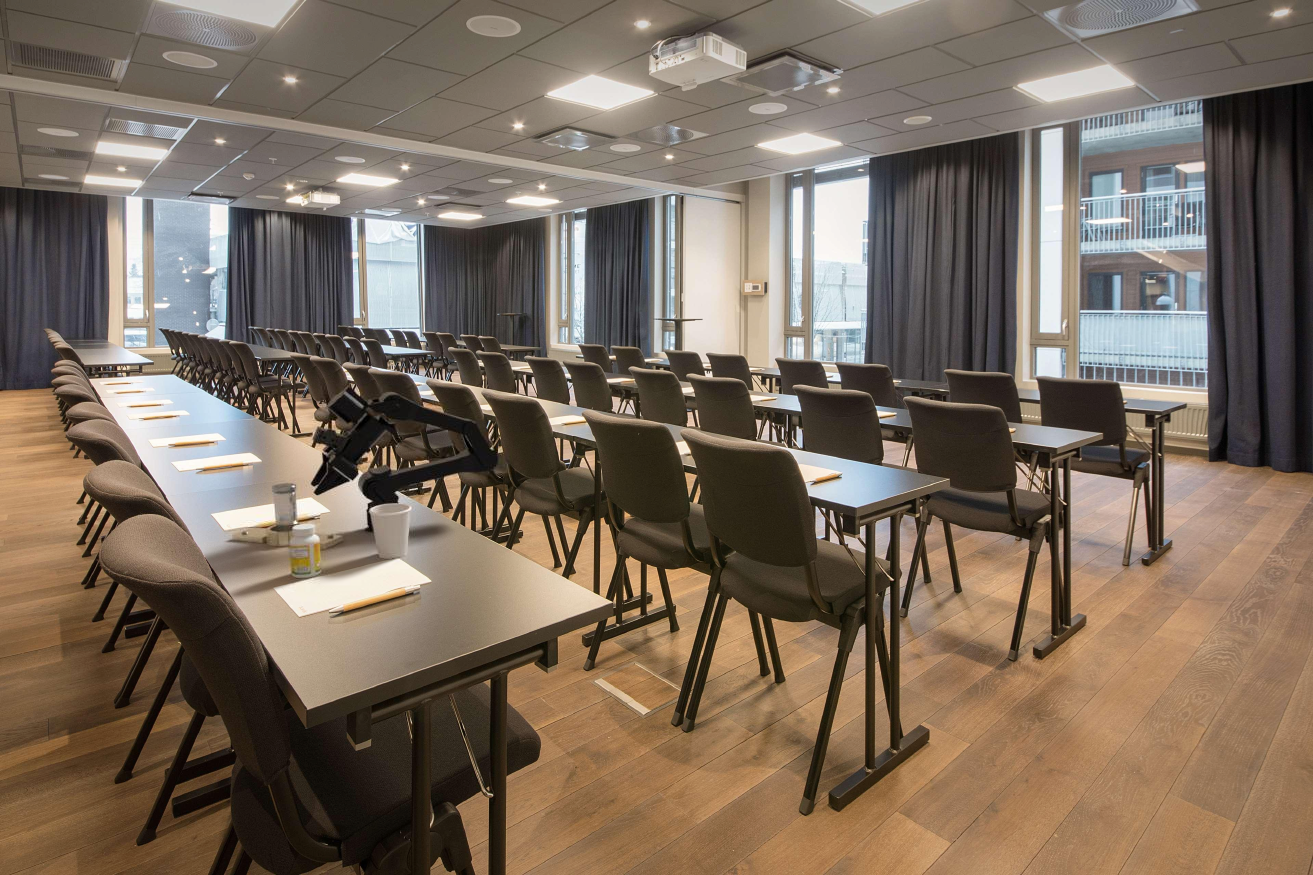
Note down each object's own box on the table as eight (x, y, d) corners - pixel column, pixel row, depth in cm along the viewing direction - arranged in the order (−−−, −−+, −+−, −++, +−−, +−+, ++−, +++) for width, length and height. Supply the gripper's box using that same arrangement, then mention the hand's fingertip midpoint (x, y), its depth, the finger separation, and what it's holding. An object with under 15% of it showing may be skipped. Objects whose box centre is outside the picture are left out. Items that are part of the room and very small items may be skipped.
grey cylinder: (304, 539, 172) (300, 485, 170) (284, 545, 168) (279, 489, 166) (292, 535, 174) (288, 482, 172) (271, 541, 170) (267, 486, 168)
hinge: (346, 539, 172) (345, 526, 171) (321, 550, 164) (320, 537, 163) (256, 531, 178) (255, 518, 177) (229, 541, 170) (227, 528, 170)
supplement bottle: (299, 580, 146) (295, 532, 145) (286, 574, 150) (282, 526, 148) (327, 573, 150) (323, 525, 149) (313, 567, 154) (310, 520, 152)
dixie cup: (402, 545, 168) (399, 501, 166) (420, 554, 162) (418, 508, 160) (364, 554, 162) (361, 508, 160) (382, 563, 156) (380, 515, 154)
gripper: (330, 408, 180) (281, 459, 176) (338, 419, 163) (285, 475, 160) (368, 439, 185) (321, 489, 181) (379, 452, 168) (328, 507, 165)
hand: (313, 489), depth 172 cm, fingers open, 9 cm apart
